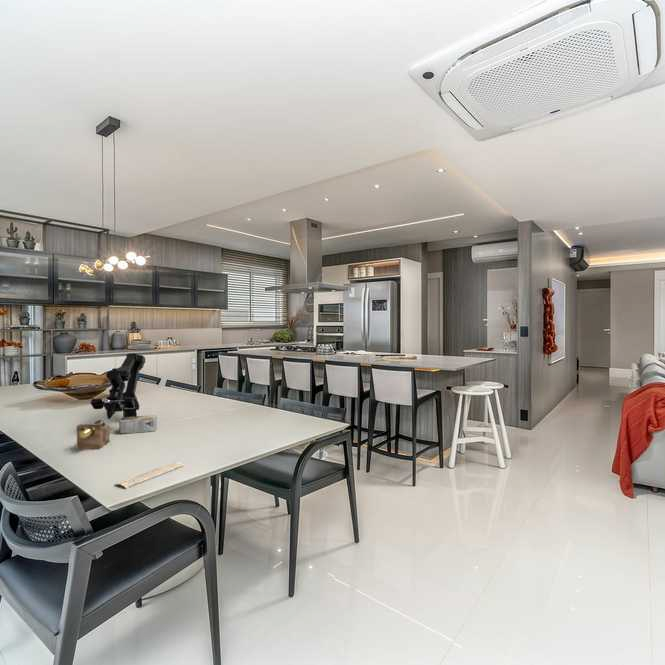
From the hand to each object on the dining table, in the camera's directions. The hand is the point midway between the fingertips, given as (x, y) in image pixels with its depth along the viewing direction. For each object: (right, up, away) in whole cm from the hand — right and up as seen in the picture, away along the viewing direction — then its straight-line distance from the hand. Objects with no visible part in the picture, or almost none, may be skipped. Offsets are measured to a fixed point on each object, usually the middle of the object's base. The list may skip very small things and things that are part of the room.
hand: (108, 418), depth 193 cm
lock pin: (+3, -3, -18) cm, 19 cm away
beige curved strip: (+43, -10, -51) cm, 67 cm away
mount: (+3, -9, -16) cm, 19 cm away
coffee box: (+18, -5, +11) cm, 22 cm away
